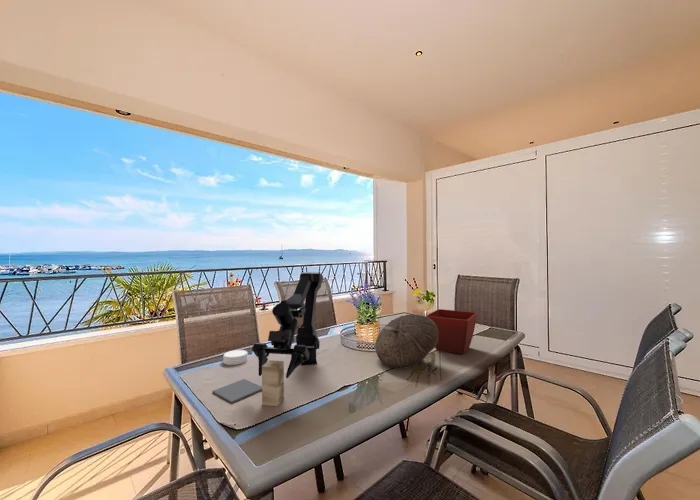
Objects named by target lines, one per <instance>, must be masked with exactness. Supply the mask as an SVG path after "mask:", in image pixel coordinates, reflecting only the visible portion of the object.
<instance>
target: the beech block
mask: <svg viewBox="0 0 700 500" xmlns="http://www.w3.org/2000/svg"><path fill="white" fill-rule="evenodd" d="M284 364H285V363H284V361H283V360H273V359H272V360H270V359H268V361H267V363H265V364H264V365H263V366H262V375H261V387H262V391H261V397H262V398H261V401H262V403H261V405H263V406H271V407H278V406H279V405H280V404H281V403H282V401H284V399H285V371H284V369H285V367H284V366H285V365H284Z"/></svg>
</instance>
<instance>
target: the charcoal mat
mask: <svg viewBox="0 0 700 500" xmlns="http://www.w3.org/2000/svg"><path fill="white" fill-rule="evenodd" d="M259 392H262V385H259V384H256V383H254V382H253V381H250V380H247V379H246V378H243V379H240V380H237V381H234V382H232V383H229V384H227V385H224V386H221V387H219V388H216V389H214V390H212V393H213V394H214V395H216V396H218V397H219V398H221V399H222V400H225V401H226V402H229V404H230V403H231V404H234V403H236V402H238V401H241V400H244V399H245V398H248V397H250V396H253V395H255V394H257V393H259Z"/></svg>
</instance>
